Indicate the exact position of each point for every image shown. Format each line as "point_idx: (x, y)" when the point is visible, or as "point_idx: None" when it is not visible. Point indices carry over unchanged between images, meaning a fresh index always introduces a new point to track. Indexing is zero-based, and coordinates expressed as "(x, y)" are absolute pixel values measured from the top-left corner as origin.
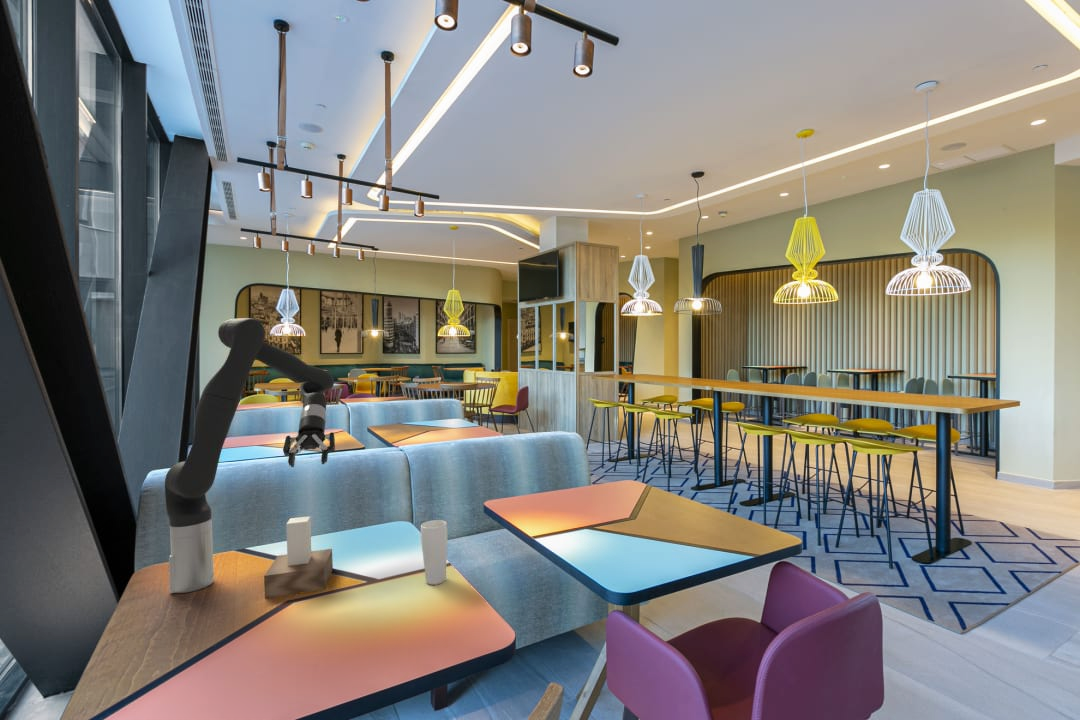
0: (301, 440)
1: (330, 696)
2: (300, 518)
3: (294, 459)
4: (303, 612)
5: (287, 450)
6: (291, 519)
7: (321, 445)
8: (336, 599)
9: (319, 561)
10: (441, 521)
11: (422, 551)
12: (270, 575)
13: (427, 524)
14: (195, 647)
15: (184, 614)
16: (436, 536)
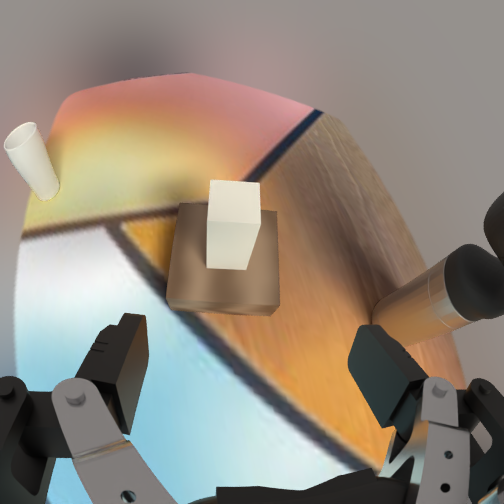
0: (442, 499)
1: (183, 78)
2: (231, 211)
3: (374, 394)
4: (207, 171)
5: (468, 402)
6: (255, 212)
7: (108, 443)
8: (166, 187)
9: (188, 234)
10: (5, 146)
11: (46, 160)
12: (266, 210)
13: (19, 149)
14: (304, 152)
15: (356, 227)
16: (31, 131)
